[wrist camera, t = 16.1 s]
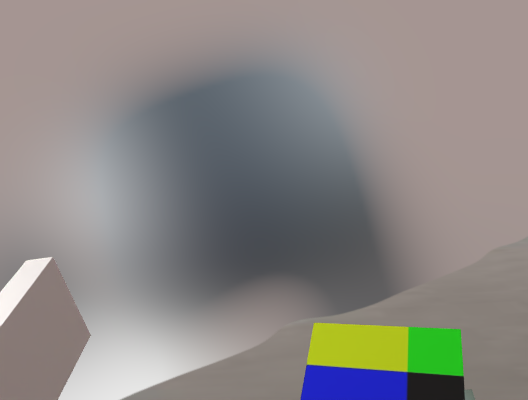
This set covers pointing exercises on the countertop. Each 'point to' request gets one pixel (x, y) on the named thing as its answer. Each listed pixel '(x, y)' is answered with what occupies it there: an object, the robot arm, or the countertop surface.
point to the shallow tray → (469, 395)
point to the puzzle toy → (383, 363)
